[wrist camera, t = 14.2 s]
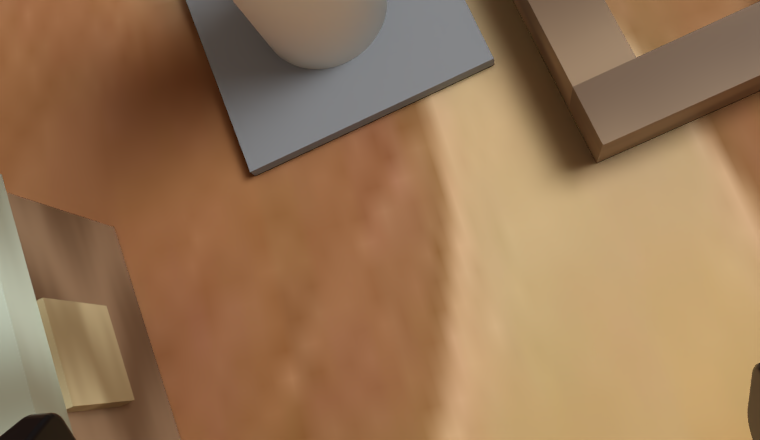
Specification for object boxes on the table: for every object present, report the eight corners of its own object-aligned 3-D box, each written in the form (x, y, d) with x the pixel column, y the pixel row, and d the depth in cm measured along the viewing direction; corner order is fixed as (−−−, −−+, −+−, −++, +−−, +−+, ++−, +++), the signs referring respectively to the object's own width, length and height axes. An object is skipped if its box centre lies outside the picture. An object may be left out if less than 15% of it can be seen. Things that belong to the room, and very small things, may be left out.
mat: (494, 64, 24) (493, 58, 24) (255, 175, 25) (249, 172, 25) (392, -142, 26) (390, -152, 26) (177, -33, 27) (170, -40, 27)
